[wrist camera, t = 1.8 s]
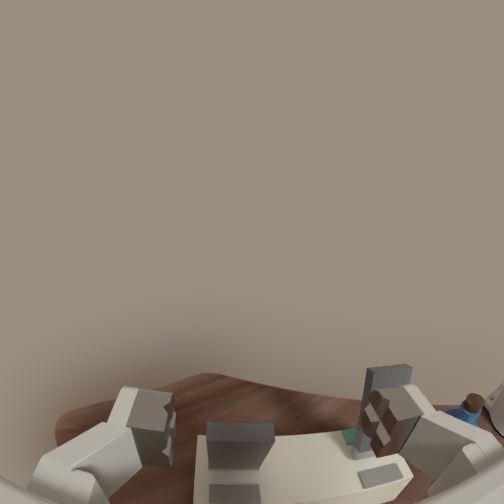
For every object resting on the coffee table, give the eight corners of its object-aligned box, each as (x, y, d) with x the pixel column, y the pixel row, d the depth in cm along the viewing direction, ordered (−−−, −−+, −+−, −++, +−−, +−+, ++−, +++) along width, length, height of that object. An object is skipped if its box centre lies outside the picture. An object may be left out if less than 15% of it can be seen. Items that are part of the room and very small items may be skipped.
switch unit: (370, 449, 33) (384, 421, 32) (393, 499, 24) (414, 474, 22) (199, 461, 31) (197, 433, 30) (196, 523, 22) (192, 503, 20)
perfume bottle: (420, 442, 33) (453, 385, 30) (452, 444, 31) (487, 388, 28) (421, 471, 27) (461, 414, 24) (456, 472, 25) (498, 415, 22)
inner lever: (387, 447, 27) (404, 363, 28) (394, 454, 26) (413, 367, 27) (350, 455, 27) (365, 367, 28) (355, 463, 25) (373, 372, 26)
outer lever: (257, 457, 26) (274, 421, 20) (258, 472, 25) (276, 442, 18) (208, 456, 26) (205, 420, 19) (208, 471, 24) (204, 441, 18)
